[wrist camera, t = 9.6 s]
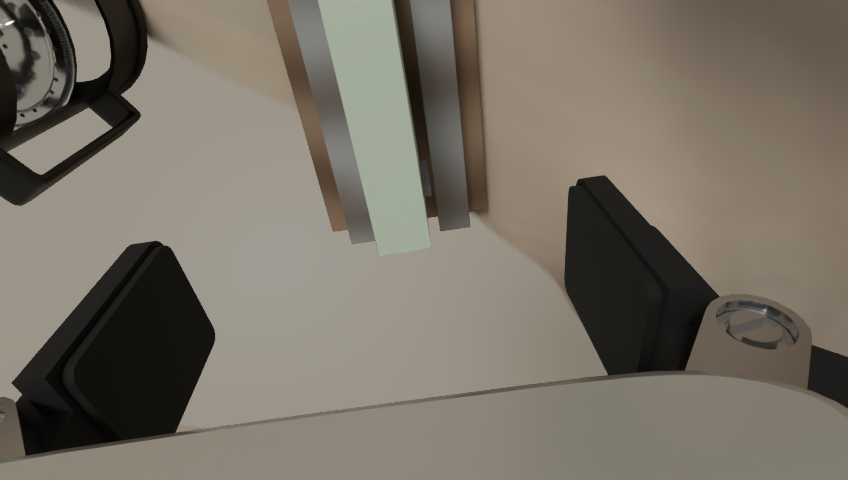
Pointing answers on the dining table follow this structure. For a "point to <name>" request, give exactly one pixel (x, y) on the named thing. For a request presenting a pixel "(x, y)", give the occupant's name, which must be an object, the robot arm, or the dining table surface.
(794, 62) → the dining table surface
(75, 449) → the robot arm
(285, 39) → the door track
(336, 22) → the door panel
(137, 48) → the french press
